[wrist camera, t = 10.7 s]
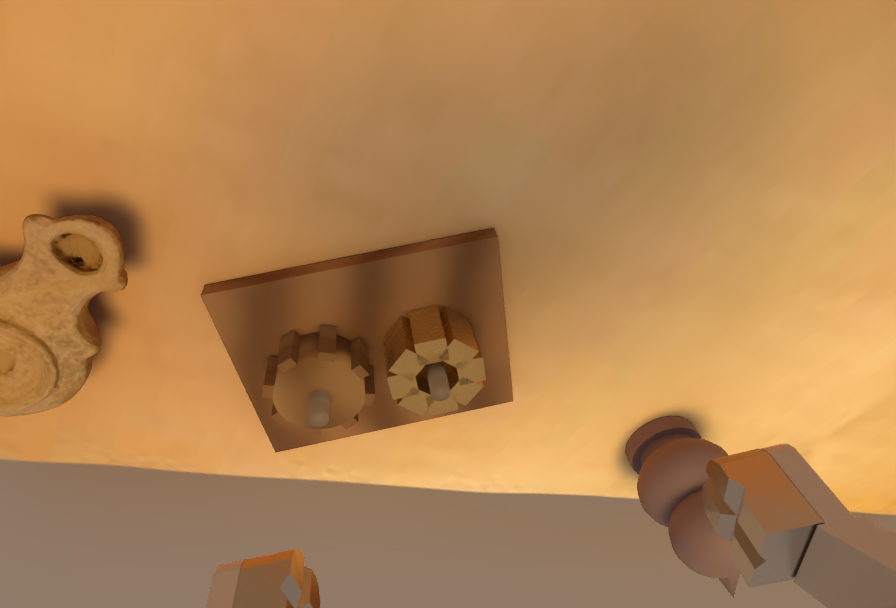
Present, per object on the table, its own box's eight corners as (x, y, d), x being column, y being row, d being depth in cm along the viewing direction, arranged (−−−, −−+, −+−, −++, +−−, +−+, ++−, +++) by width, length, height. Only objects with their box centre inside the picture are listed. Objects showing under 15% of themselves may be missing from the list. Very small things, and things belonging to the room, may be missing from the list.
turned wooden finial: (630, 408, 45) (710, 538, 35) (714, 402, 46) (815, 526, 36) (606, 476, 49) (672, 608, 40) (684, 469, 51) (766, 595, 41)
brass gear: (468, 298, 35) (479, 330, 32) (477, 367, 38) (489, 402, 35) (376, 317, 34) (379, 351, 31) (394, 385, 38) (398, 422, 35)
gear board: (493, 228, 34) (519, 277, 28) (509, 390, 41) (532, 452, 36) (204, 285, 33) (178, 347, 27) (277, 440, 40) (267, 510, 35)
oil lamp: (149, 200, 29) (116, 240, 25) (142, 393, 36) (116, 450, 32) (-89, 150, 26) (-170, 187, 22) (-47, 372, 33) (-104, 431, 29)
